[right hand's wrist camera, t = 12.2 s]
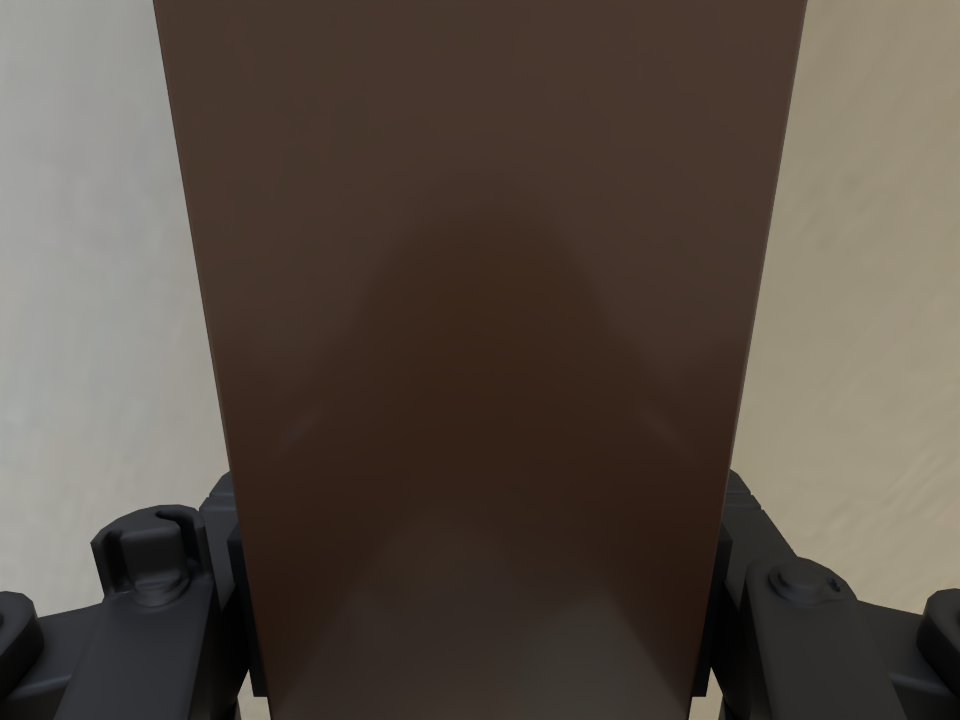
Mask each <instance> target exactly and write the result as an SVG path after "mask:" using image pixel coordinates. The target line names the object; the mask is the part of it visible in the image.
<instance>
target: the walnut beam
mask: <svg viewBox="0 0 960 720" xmlns="http://www.w3.org/2000/svg"><path fill="white" fill-rule="evenodd" d="M153 4H154V10H155V16H156V23H157V29H158V35H159V41H160V47H161V53H162V59H163V65H164V71H165V77H166V84H167V90H168V96H169V102H170V108H171V114H172V120H173V126H174V132H175V138H176V144H177V151H178V157H179V163H180V169H181V175H182V181H183V187H184V193H185V199H186V205H187V212H188V218H189V224H190V230H191V236H192V242H193V248H194V254H195V260H196V266H197V272H198V279H199V285H200V291H201V297H202V303H203V309H204V315H205V321H206V327H207V333H208V339H209V346H210V352H211V358H212V364H213V370H214V376H215V382H216V388H217V394H218V400H219V407H220V413H221V419H222V425H223V431H224V437H225V443H226V449H227V455H228V461H229V467H230V474H231V480H232V486H233V492H234V498H235V504H236V510H237V516H238V522H239V528H240V535H241V541H242V547H243V553H244V559H245V565H246V571H247V577H248V583H249V589H250V595H251V602H252V608H253V614H254V620H255V626H256V632H257V638H258V644H259V650H260V656H261V662H262V669H263V675H264V681H265V687H266V693H267V699H268V705H269V711H270V717H271V720H689V713H690V707H691V701H692V695H693V689H694V683H695V677H696V671H697V665H698V659H699V653H700V647H701V641H702V635H703V629H704V623H705V617H706V611H707V605H708V598H709V592H710V586H711V580H712V574H713V568H714V562H715V556H716V550H717V544H718V538H719V532H720V526H721V520H722V514H723V508H724V502H725V496H726V490H727V484H728V477H729V471H730V465H731V459H732V453H733V447H734V441H735V435H736V429H737V423H738V417H739V411H740V405H741V399H742V393H743V387H744V381H745V375H746V369H747V362H748V356H749V350H750V344H751V338H752V332H753V326H754V320H755V314H756V308H757V302H758V296H759V290H760V284H761V278H762V272H763V266H764V260H765V254H766V248H767V241H768V235H769V229H770V223H771V217H772V211H773V205H774V199H775V193H776V187H777V181H778V175H779V169H780V163H781V157H782V151H783V145H784V139H785V133H786V126H787V120H788V114H789V108H790V102H791V96H792V90H793V84H794V78H795V72H796V66H797V60H798V54H799V48H800V42H801V36H802V30H803V24H804V18H805V11H806V5H807V0H153Z"/></svg>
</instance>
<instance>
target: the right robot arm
mask: <svg viewBox="0 0 960 720" xmlns="http://www.w3.org/2000/svg"><path fill="white" fill-rule="evenodd" d="M90 544H91V547H92V551H93V555H94V558H95V562H96V566H97V570H98V573H99V577H100V581H101V584H102V588H103V592H104V595H105V596H104V599H103V601H102V603H100V604H96V605H93V606H89V607H85V608H81V609H76V610H72V611H67V612H63V613H58V614H53V615H49V616H44V617H40V618H38V617H37V614H36V611H35V608H34V605H33V601H31V600H30V599H29V598H28V597H26V596H25V595H24V594H22V593H15V592H8V591H3V592H0V720H241V715H240V708H239V703H238V697H237V696H238V693H239V691H240V689H241V686H242V684H243V681H244V679H245V677H246V674H247V672H248V669H249V672H250V678H251V684H252V690H253V695H254V697H267V693H266V687H265V681H264V675H263V669H262V662H261V656H260V650H259V644H258V638H257V632H256V626H255V620H254V614H253V608H252V602H251V595H250V589H249V583H248V577H247V571H246V565H245V559H244V553H243V547H242V541H241V535H240V528H239V522H238V516H237V510H236V504H235V498H234V492H233V486H232V480H231V474H230V471H229V472H228V473H226V474H225V475H223V476H222V477H221V478H220V480H219V481H218V483H217V484H216V485H215V487H214V488H213V490H212V491H211V492H210V494H209V497H207V498H206V499H205V501H204V502H203V504H202V505H201V506H200V508H199V512H198V511H197V510H196V509H195V508H192V507H187V506H183V505H158V506H153V507H149V508H145V509H140V510H137V511H135V512H132V513H130V514H127V515H125V516H123V517H120V518H118V519H116V520H115V521H113V522H112V523H110V524H109V525H107V526H106V527H104V528H103V529H101V530H100V531H99V533H98V534H97V535H96V536H95V538H94V539H93V540H92V541H91V542H90ZM711 667H712V670H713V672H714V674H715V677H716V679H717V682H718V684H719V686H720V689H721V691H722V694H723V697H722V703H721V708H720V713H719V719H718V720H960V589H956V588H953V589H947V590H940V591H937V592H935V593H934V594H933V595H932V596H930V597H929V598H928V600H927V603H926V606H925V609H924V612H923V615H919V614H914V613H910V612H905V611H901V610H896V609H891V608H887V607H882V606H878V605H873V604H870V603H866V602H863V601H859V600H857V598H856V595H855V594H854V592H853V591H852V590H851V588H850V587H849V585H848V584H847V582H846V581H845V580H843V579H842V578H841V577H839V576H838V575H837V574H836V573H834V572H833V571H832V570H830V569H829V568H826V567H824V566H822V565H820V564H818V563H816V562H814V561H812V560H809V559H805V558H801V557H797V556H796V554H795V553H794V551H793V550H792V549H791V547H790V546H789V544H788V543H787V542H786V540H785V539H784V538H783V536H782V535H781V533H780V532H779V531H778V529H777V528H776V526H775V525H774V524H773V522H772V521H771V519H770V518H769V517H768V515H767V514H766V512H765V511H764V510H761V506H760V504H759V503H758V501H757V500H756V499H755V497H754V496H753V495H751V492H750V490H749V489H748V487H747V486H746V485H745V483H744V482H743V480H742V479H741V478H740V476H739V475H738V474H737V473H735V472H734V471H732V470H731V469H730V471H729V477H728V484H727V490H726V496H725V502H724V508H723V514H722V520H721V526H720V532H719V538H718V544H717V550H716V556H715V562H714V568H713V574H712V580H711V586H710V592H709V598H708V605H707V611H706V617H705V623H704V629H703V635H702V641H701V647H700V653H699V659H698V665H697V671H696V677H695V683H694V689H693V695H692V697H706V693H707V687H708V681H709V676H710V670H711Z"/></svg>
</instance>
